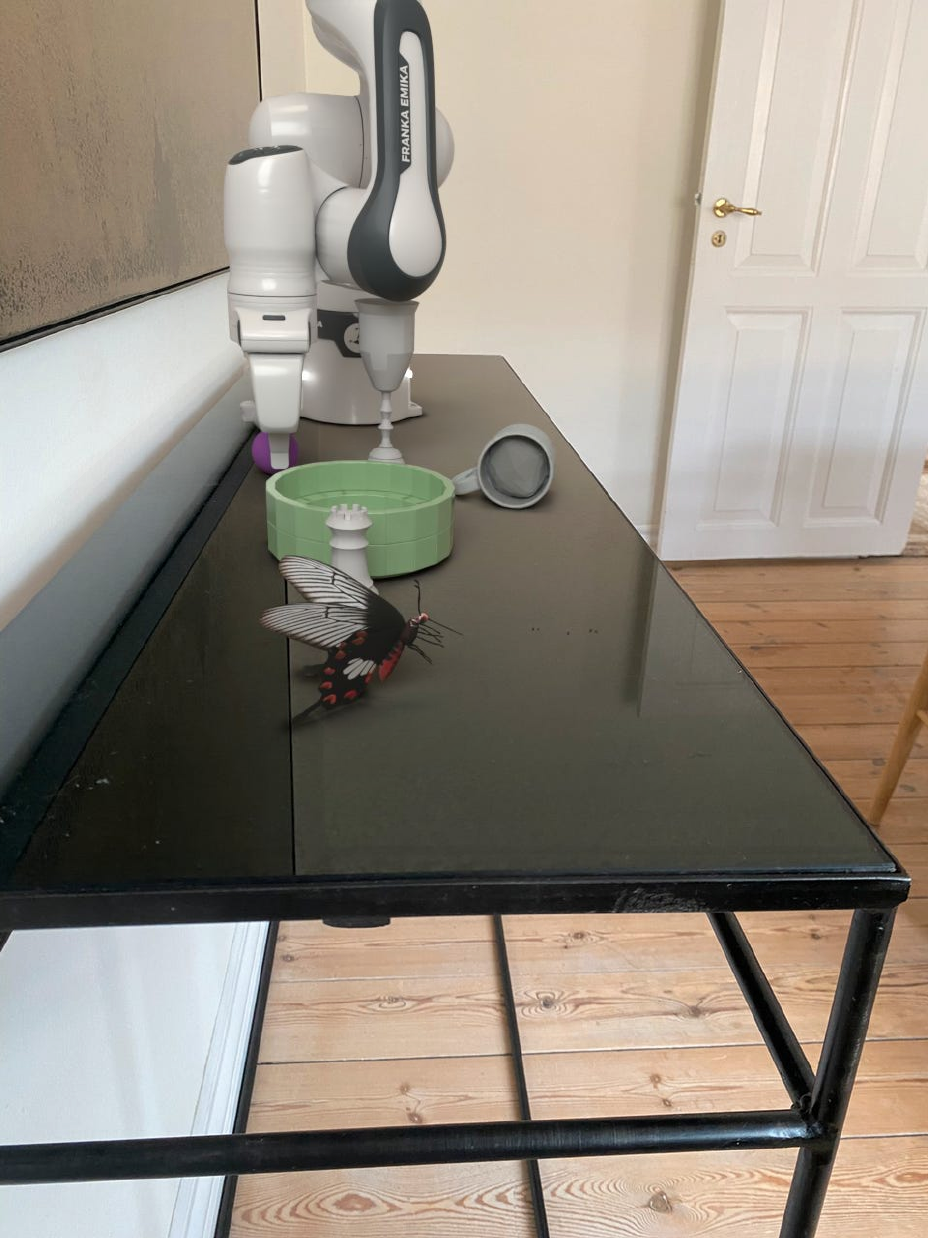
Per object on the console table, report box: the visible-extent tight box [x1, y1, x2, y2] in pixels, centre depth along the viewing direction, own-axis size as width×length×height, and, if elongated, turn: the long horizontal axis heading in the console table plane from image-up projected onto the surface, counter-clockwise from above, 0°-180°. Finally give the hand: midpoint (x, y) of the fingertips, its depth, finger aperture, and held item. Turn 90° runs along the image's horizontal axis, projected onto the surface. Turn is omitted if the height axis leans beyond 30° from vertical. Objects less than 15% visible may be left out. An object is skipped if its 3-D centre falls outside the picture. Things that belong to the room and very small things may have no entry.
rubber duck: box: [239, 399, 261, 430], centre depth 117 cm, size 5×7×8 cm
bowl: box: [265, 459, 456, 580], centre depth 79 cm, size 16×16×6 cm
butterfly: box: [258, 555, 464, 725], centre depth 54 cm, size 11×8×10 cm
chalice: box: [354, 298, 420, 464], centre depth 100 cm, size 7×7×18 cm
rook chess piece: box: [325, 504, 380, 596], centre depth 66 cm, size 4×4×8 cm
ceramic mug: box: [450, 423, 557, 509], centre depth 95 cm, size 11×8×8 cm
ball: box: [251, 431, 300, 476], centre depth 100 cm, size 5×5×5 cm
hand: (279, 457), depth 100 cm, fingers open, 7 cm apart
